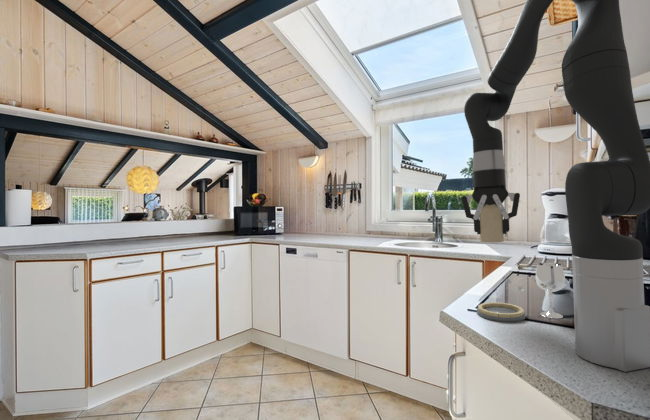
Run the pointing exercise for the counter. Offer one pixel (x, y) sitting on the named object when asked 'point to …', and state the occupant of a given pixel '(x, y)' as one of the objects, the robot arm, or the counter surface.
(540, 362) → the counter surface
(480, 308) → the beige ring
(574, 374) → the counter surface
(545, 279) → the wineglass
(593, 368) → the counter surface
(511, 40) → the robot arm
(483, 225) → the candle
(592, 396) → the counter surface
